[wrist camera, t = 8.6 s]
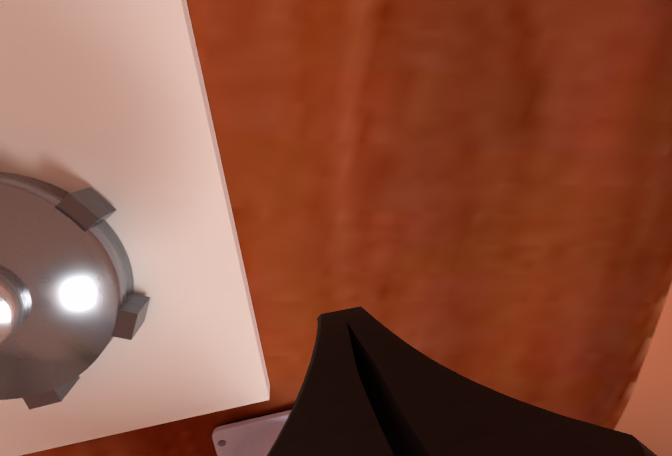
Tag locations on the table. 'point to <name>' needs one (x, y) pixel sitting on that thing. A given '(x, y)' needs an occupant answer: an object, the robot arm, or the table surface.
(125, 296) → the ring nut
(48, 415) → the base plate
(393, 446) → the robot arm
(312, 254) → the table surface
